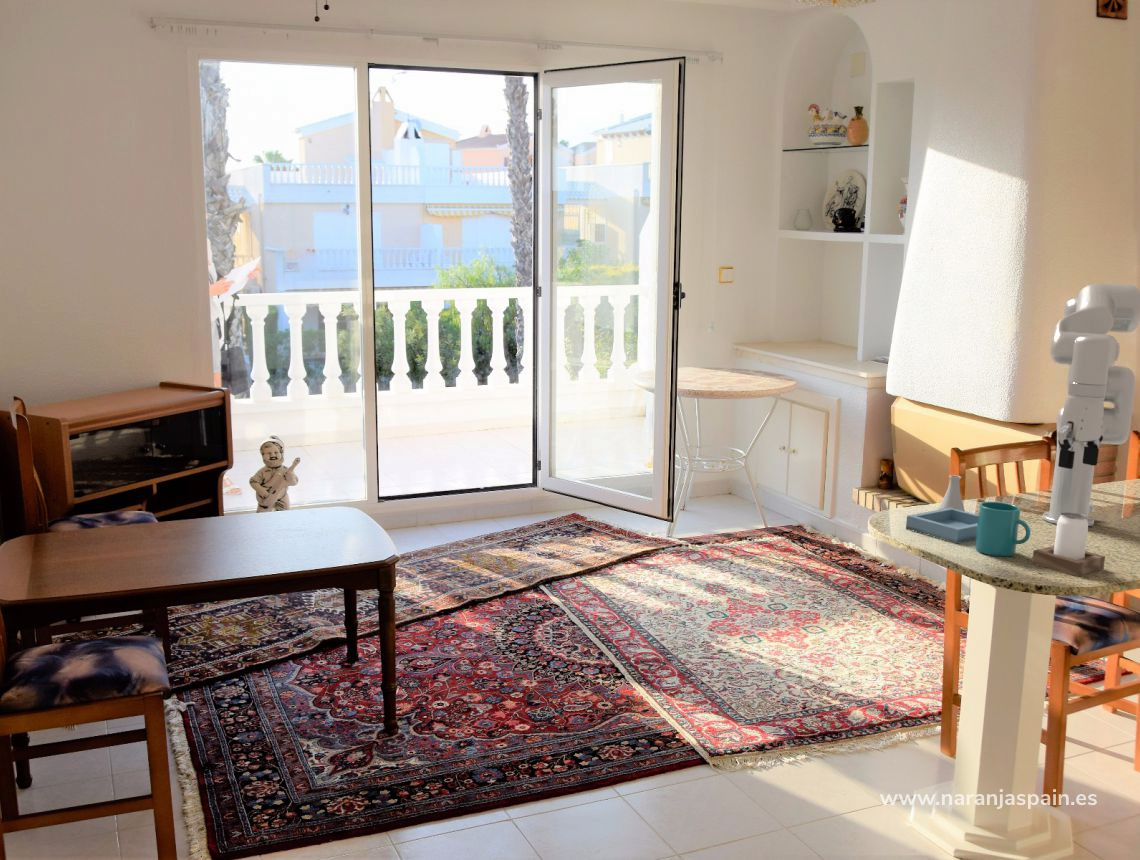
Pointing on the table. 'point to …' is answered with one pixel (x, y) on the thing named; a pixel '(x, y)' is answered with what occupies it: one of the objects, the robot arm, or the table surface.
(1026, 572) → the table surface
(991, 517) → the cup
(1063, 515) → the can
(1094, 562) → the holder
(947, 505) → the flask
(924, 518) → the tray
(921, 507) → the table surface
